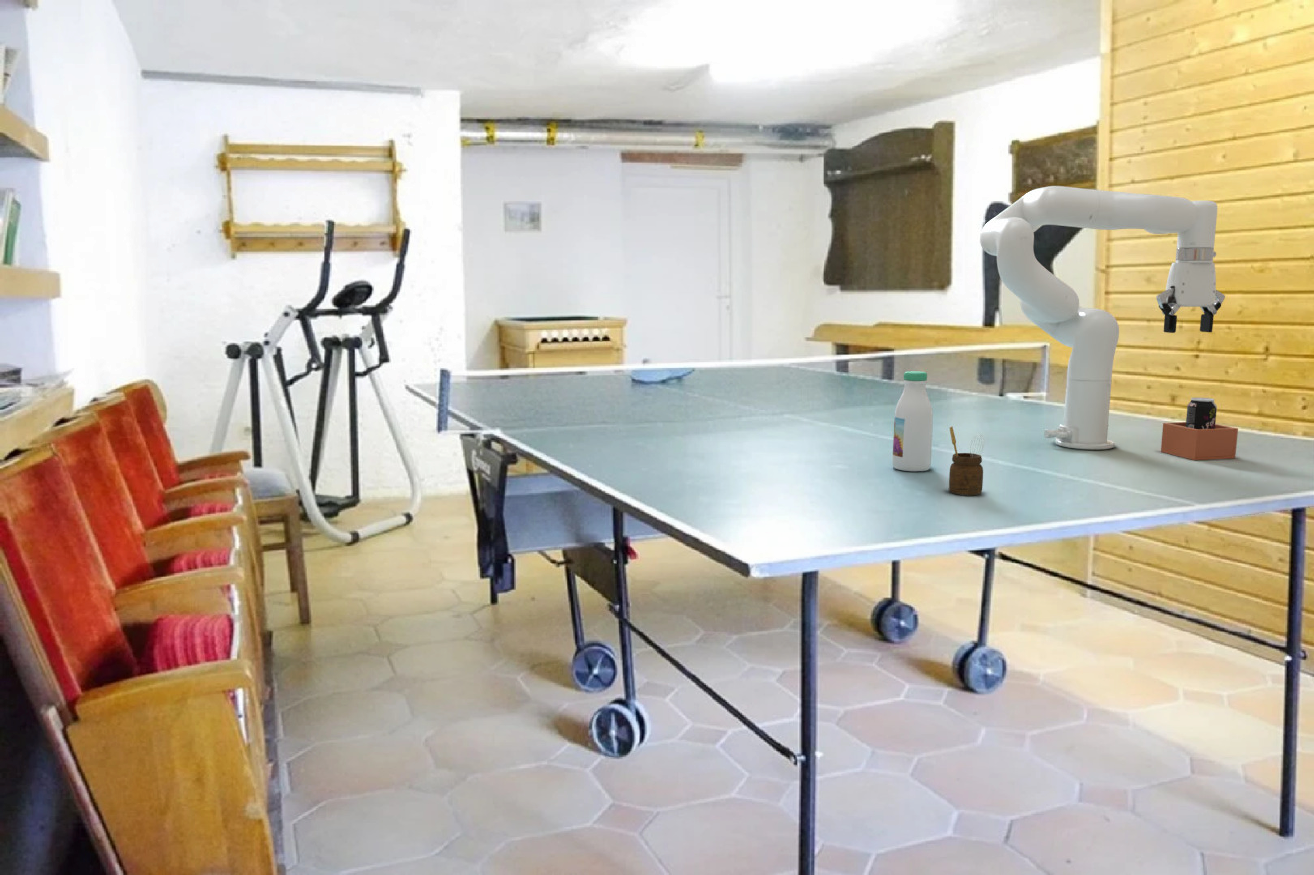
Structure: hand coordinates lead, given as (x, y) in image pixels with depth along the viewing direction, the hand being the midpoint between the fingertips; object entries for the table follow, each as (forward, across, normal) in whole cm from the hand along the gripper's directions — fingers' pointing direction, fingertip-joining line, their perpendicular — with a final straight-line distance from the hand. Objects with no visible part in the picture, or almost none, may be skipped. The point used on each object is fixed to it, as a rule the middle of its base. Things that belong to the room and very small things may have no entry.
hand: (1187, 332), depth 233 cm
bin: (+26, +5, +12) cm, 29 cm away
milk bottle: (+26, +74, +12) cm, 80 cm away
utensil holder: (+26, +75, +35) cm, 87 cm away
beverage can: (+26, +5, +12) cm, 29 cm away
